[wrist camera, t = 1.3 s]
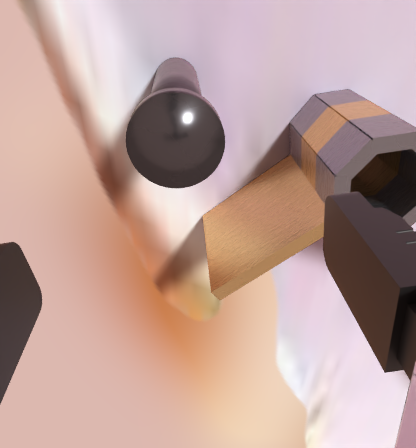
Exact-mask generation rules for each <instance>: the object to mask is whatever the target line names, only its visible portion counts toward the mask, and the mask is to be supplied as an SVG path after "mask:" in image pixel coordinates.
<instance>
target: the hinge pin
mask: <svg viewBox="0 0 416 448" xmlns="http://www.w3.org/2000/svg"><path fill="white" fill-rule="evenodd" d="M126 147H127V152H128V155H129V158H130V160H131V162H132V163H133V165H134V167H135V168H136V169H137V170H138V172H139V173H140V174H141V175H143V176H144V177H145V178H146V179H148V180H149V181H151V182H153V183H155V184H157V185H160V186H163V187H168V188H185V187H190V186H193V185H196V184H198V183H200V182H202V181H203V180H205V179H206V178H207V177H209V176H210V175H211V174H212V173H213V172H214V171H215V169H216V168H217V167H218V165H219V163H220V161H221V159H222V156H223V153H224V148H225V135H224V130H223V127H222V124H221V121H220V118H219V116H218V114H217V112H216V110H215V109H214V107H213V106H212V105H211V104H210V102H209V101H207V100H206V99H205V98H204V97H202V95H201V91H200V87H199V82H198V78H197V74H196V71H195V69H194V67H193V66H192V65H191V64H190V63H189V62H188V61H186V60H184V59H181V58H170V59H167V60H166V61H164V62H163V63H162V64H161V65H160V66H159V67H158V69H157V72H156V75H155V79H154V83H153V87H152V91H151V94H150V95H148V96H147V97H146V98H144V99H143V100H142V101H141V102H140V103H139V104H138V106H137V107H136V108H135V110H134V112H133V114H132V116H131V119H130V122H129V124H128V128H127V132H126Z"/></svg>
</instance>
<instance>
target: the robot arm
mask: <svg viewBox="0 0 416 448" xmlns="http://www.w3.org/2000/svg"><path fill="white" fill-rule="evenodd" d="M323 251H324V257H325V262H326V265H327V267H328V270H329V271H330V273H331V275H332V277H333V279H334V281H335V282H336V284H337V286H338V288H339V290H340V292H341V293H342V295H343V297H344V299H345V301H346V303H347V304H348V306H349V308H350V310H351V312H352V313H353V315H354V317H355V319H356V321H357V323H358V324H359V326H360V328H361V330H362V332H363V334H364V335H365V337H366V339H367V341H368V343H369V345H370V346H371V348H372V350H373V352H374V354H375V356H376V357H377V359H378V361H379V363H380V365H381V366H382V368H383V370H384V372H385V373H386V372H392V371H399V370H404V371H405V372H406V374H407V376H408V377H409V379H410V385H409V389H408V393H407V397H406V402H405V406H404V410H403V414H402V419H401V423H400V427H399V431H398V436H397V440H396V444H395V448H416V231H415V232H414V231H413V228H412V227H411V226H410V225H409V224H408V223H407V222H406V221H405V220H404V219H403V218H402V217H401V216H399V215H397V214H395V213H392V212H390V211H388V210H386V209H384V208H382V207H381V208H373V206H372V205H371V204H370V203H369V202H368V201H367V200H366V199H365V198H364V197H363V196H362V194H361V193H359V192H350V193H343V194H336V195H330V196H327V197H326V200H325V210H324V237H323ZM41 306H42V294H41V290H40V287H39V285H38V283H37V281H36V278H35V277H34V274H33V272H32V270H31V268H30V266H29V264H28V262H27V260H26V258H25V256H24V254H23V252H22V250H21V248H20V246H19V245H18V244H16V243H14V242H9V243H3V244H0V403H1V401H2V399H3V397H4V394H5V392H6V390H7V387H8V385H9V383H10V380H11V378H12V375H13V373H14V371H15V369H16V366H17V364H18V362H19V359H20V357H21V355H22V352H23V350H24V348H25V345H26V343H27V341H28V338H29V336H30V334H31V331H32V329H33V327H34V325H35V322H36V320H37V318H38V315H39V313H40V310H41Z"/></svg>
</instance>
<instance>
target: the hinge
mask: <svg viewBox="0 0 416 448" xmlns="http://www.w3.org/2000/svg"><path fill="white" fill-rule="evenodd" d="M350 192H359V193H361V194H362V196H363V197H364V198H365V199H366V200H367V201H368V202H369V203H370V204H371V205H372V206H373V208H381V207H382V208H384V209H386V210H388V211H390V212H392V213H395V214H397V215H399V216H401V217H402V218H403V219H404V220H405V221H406V222H407V223H408V224H409V225H410V226H412V225H413V224H414V223H415V222H416V127H414V126H412V125H411V124H409V123H407V122H405V121H404V120H402V119H400V118H398V117H397V116H395V115H393V114H391V113H390V112H388V111H386V110H384V109H383V108H381V107H379V106H377V105H376V104H374V103H372V102H371V101H369V100H367V99H365V98H364V97H362V96H360V95H358V94H357V93H355V92H353V91H351V90H349V89H347V90H340V91H333V92H327V93H320V94H315V96H314V95H313V96H312V97H311V98H310V100H309V101H308V102H307V103H306V104H305V105H304V107H303V108H302V109H301V110H300V111H299V112H298V113H297V115H296V116H295V117H294V118H293V119H292V120H291V122H290V155H289V156H287V157H286V158H284V159H283V160H282V161H280V162H279V163H277V164H276V165H274V166H273V167H272V168H270V169H269V170H267V171H266V172H264V173H263V174H262V175H260V176H259V177H257V178H256V179H254V180H253V181H252V182H250V183H249V184H247V185H246V186H244V187H243V188H242V189H240V190H239V191H237V192H236V193H234V194H233V195H232V196H230V197H229V198H227V199H226V200H224V201H223V202H222V203H220V204H219V205H217V206H216V207H215V208H213V209H212V210H210V211H209V212H207V213H206V214H205V215H203V224H204V233H205V242H206V250H207V259H208V268H209V277H210V286H211V293H212V294H214V295H215V296H216V297H217V298H218V299H219V300H221V299H223V298H225V297H226V296H228V295H229V294H231V293H233V292H234V291H236V290H238V289H239V288H241V287H242V286H244V285H246V284H247V283H249V282H250V281H252V280H254V279H256V278H257V277H259V276H260V275H262V274H263V273H265V272H267V271H269V270H270V269H272V268H273V267H275V266H277V265H278V264H280V263H282V262H283V261H285V260H286V259H288V258H290V257H291V256H293V255H295V254H296V253H298V252H300V251H301V250H303V249H304V248H306V247H308V246H309V245H311V244H313V243H314V242H316V241H317V240H319V239H321V238H322V237H324V210H325V200H326V197H327V196H330V195H336V194H343V193H350Z"/></svg>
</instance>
